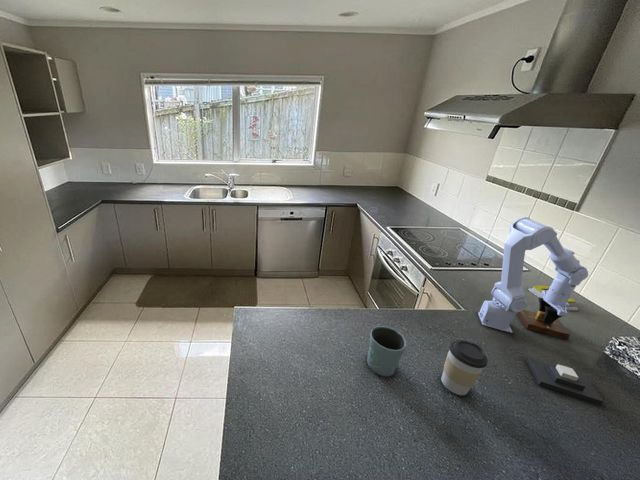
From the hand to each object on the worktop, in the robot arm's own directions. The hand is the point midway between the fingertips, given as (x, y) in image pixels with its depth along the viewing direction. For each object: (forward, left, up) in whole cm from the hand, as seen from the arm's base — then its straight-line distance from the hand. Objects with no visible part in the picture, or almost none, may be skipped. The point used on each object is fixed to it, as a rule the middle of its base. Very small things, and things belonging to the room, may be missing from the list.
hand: (544, 319), depth 110 cm
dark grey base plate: (-5, -30, -3) cm, 31 cm away
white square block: (-5, -30, 0) cm, 30 cm away
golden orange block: (0, 0, -1) cm, 1 cm away
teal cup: (-57, -50, -3) cm, 76 cm away
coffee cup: (-36, -47, -3) cm, 59 cm away
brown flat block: (0, 0, -3) cm, 3 cm away
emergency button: (+12, +25, -3) cm, 28 cm away
